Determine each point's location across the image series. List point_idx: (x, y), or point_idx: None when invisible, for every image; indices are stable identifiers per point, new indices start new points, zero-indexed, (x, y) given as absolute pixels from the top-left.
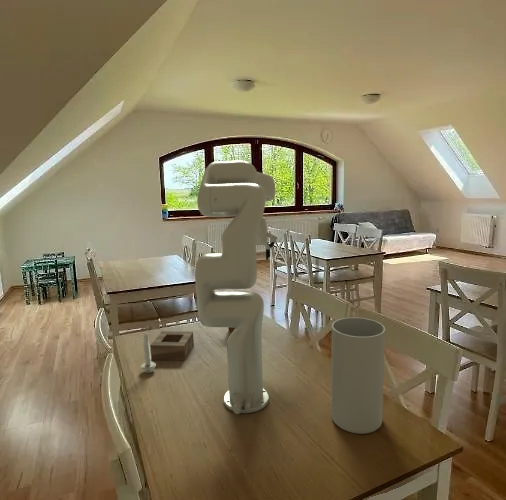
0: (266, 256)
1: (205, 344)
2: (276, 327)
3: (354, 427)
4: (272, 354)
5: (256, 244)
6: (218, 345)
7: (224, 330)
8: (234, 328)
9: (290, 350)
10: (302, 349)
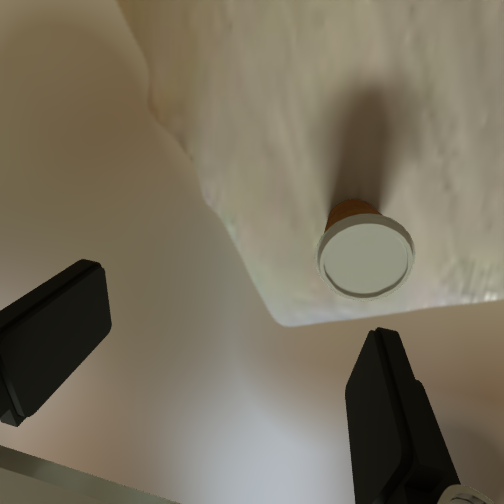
0: (70, 282)
1: (480, 118)
2: (232, 221)
3: None
4: (257, 7)
5: (10, 468)
6: (433, 104)
7: None
8: (363, 202)
9: (199, 39)
10: (164, 45)
